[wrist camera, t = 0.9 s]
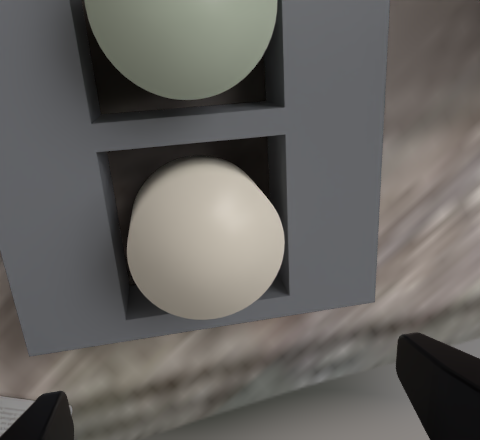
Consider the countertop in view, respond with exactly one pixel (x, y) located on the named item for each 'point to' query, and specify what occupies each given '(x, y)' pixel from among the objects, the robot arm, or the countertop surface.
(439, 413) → the robot arm
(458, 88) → the countertop surface
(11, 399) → the skincare box
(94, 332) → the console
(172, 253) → the button cream
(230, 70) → the button sage
